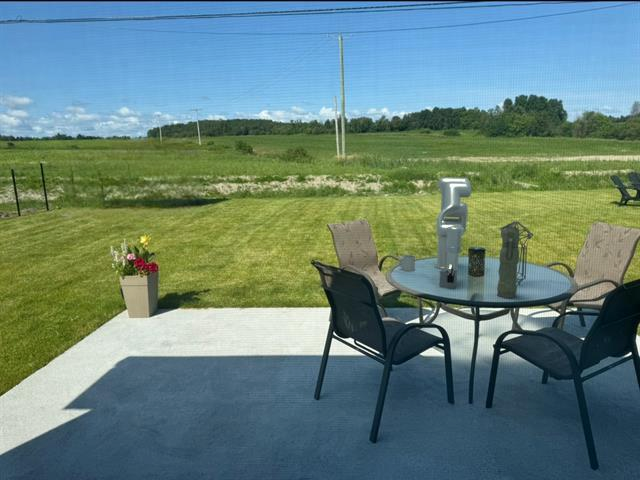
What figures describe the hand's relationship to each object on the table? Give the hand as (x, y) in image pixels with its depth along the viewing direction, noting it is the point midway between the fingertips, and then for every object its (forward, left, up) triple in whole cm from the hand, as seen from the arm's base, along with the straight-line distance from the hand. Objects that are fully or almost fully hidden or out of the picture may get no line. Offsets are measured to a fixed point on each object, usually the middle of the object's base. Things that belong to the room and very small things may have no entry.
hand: (451, 280), depth 244 cm
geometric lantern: (-20, +29, -4) cm, 35 cm away
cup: (-26, -32, -4) cm, 41 cm away
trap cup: (0, -2, -3) cm, 4 cm away
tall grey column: (+6, +28, -4) cm, 29 cm away
